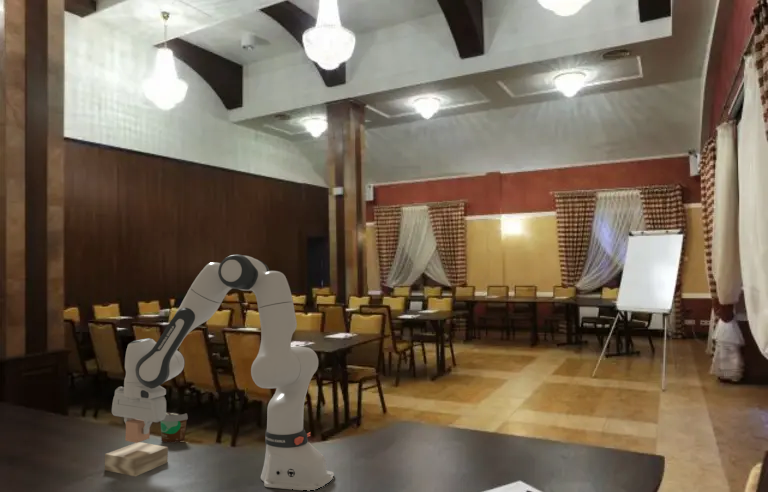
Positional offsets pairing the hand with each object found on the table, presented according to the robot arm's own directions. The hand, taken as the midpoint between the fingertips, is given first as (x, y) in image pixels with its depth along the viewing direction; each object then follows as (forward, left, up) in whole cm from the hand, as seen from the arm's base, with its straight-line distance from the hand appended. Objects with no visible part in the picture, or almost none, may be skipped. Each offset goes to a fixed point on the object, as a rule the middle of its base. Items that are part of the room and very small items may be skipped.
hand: (137, 432), depth 173 cm
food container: (+10, -24, -11) cm, 28 cm away
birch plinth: (0, 0, -11) cm, 11 cm away
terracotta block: (0, 0, -2) cm, 2 cm away
